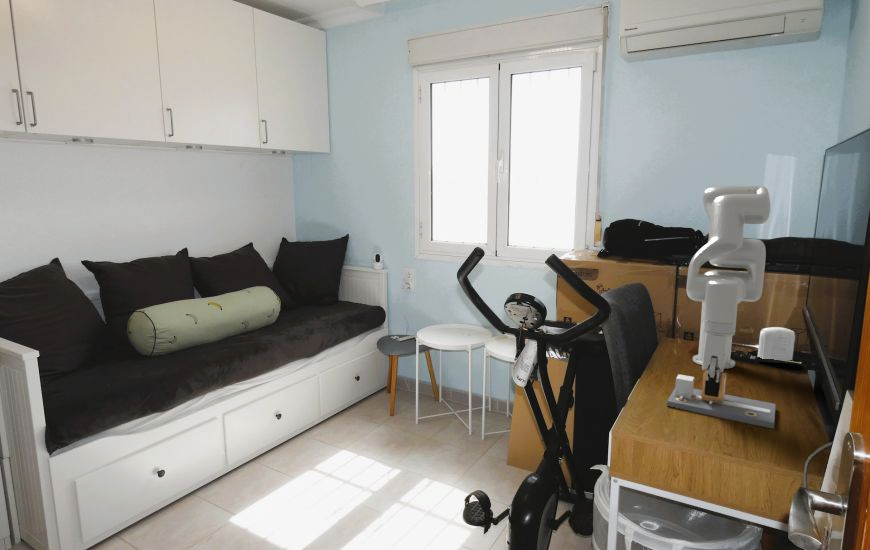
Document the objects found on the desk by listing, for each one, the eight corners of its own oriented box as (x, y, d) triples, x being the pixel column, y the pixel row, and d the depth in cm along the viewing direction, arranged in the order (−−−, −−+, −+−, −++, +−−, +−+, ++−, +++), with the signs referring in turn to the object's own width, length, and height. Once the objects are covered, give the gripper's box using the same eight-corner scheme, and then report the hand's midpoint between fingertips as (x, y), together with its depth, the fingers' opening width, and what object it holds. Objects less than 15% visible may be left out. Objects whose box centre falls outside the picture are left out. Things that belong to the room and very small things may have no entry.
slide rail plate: (676, 390, 149) (677, 368, 148) (774, 409, 135) (777, 385, 134) (666, 406, 137) (668, 383, 136) (773, 428, 124) (776, 403, 123)
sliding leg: (703, 394, 140) (705, 370, 139) (724, 398, 137) (726, 373, 136) (699, 402, 134) (701, 377, 133) (721, 407, 131) (723, 381, 130)
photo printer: (787, 361, 175) (791, 326, 173) (794, 365, 170) (798, 329, 168) (754, 360, 176) (758, 325, 174) (760, 364, 172) (764, 328, 170)
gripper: (707, 318, 143) (702, 378, 146) (698, 331, 129) (692, 397, 132) (738, 322, 139) (732, 383, 142) (732, 336, 125) (726, 404, 127)
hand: (713, 390), depth 137 cm, fingers open, 8 cm apart
